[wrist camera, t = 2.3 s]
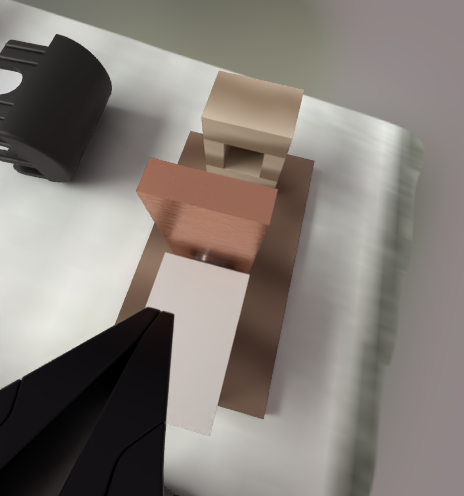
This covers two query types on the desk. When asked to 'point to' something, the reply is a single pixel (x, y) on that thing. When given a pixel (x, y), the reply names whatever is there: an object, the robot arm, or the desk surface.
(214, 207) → the brushed copper slab
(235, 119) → the socket block
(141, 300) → the base board
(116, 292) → the desk surface
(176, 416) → the white rectangular block
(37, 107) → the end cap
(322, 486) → the desk surface
